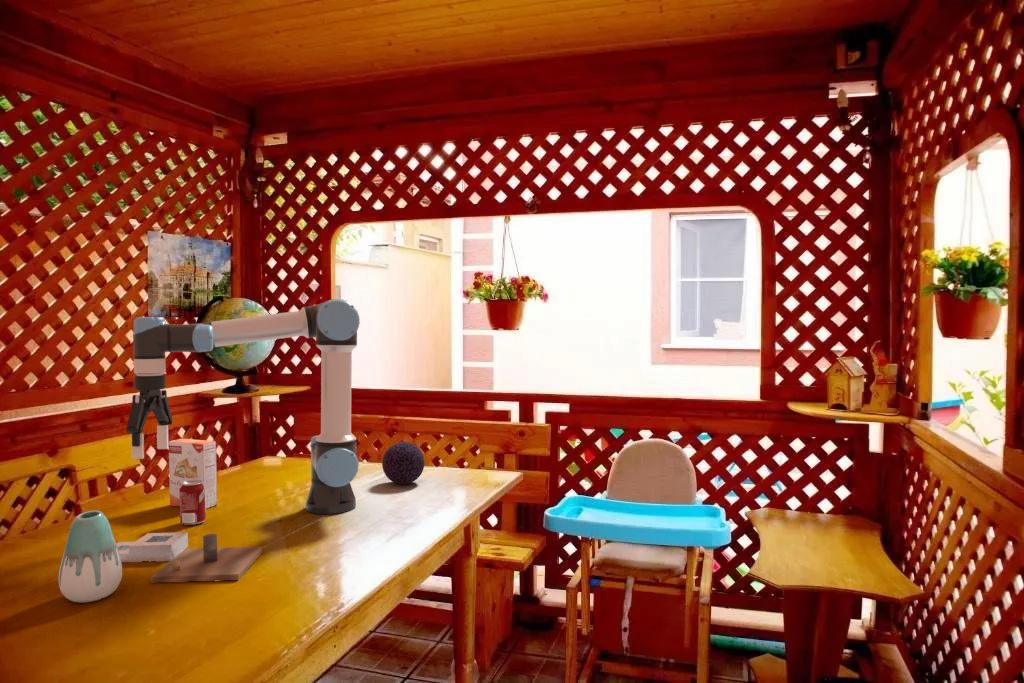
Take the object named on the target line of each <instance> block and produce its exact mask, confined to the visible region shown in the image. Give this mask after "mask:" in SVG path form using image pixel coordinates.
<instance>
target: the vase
mask: <svg viewBox="0 0 1024 683" xmlns="http://www.w3.org/2000/svg"><path fill="white" fill-rule="evenodd" d="M111 527H112V526H111V523H110V522H109V520H108V518H107V517H106V515H105V514H104V513H103V512H102V511H101V510H89V511H88V510H87V511H85V512H81V513H80V514H78V515H76V516H75V517H74V519H73V520H72V522H71V523H70V528H69V531H68V533H67V539H66V543H65V547H64V550H63V555H62V558H61V563H60V567H59V571H58V587H59V590H60V593H61V594H62V595H63V596H64V597H65V598H66V599H67V600H68V601H71V602H73V603H83V604H84V603H92V602H96V601H100V600H103V599H106V598H107V597H109V596H110V595H111V594H113V593H114V592H115V591H117V589H118V587H119V585H120V583H121V581H122V578H123V562H121V558H120V555H119V551H118V547H117V545H116V544H117V543H116V540H115V538H114V534H113V530H112V528H111ZM102 598H103V599H102Z"/></svg>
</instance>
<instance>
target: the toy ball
mask: <svg viewBox="0 0 1024 683" xmlns="http://www.w3.org/2000/svg"><path fill="white" fill-rule="evenodd" d="M381 462H382V463H381V466H382V470H383V473H384V475H385V476H386V478H388V480H389V481H390V482H392V483H395V484H397V485H408V484H411V483H413V482H416V480H418V478H420V477H421V475H422V474H423V471H424V469H425V463H426V462H425V456H424V453H423V452H422V450H421V448H420V447H418V446H417V445H415V444H414V443H411V442H410V441H409V442H408V441H400V442H395V443H393V444H392V445H391V446H389V447H388V449H386V451H385V452H384V455H383V457H382V460H381Z"/></svg>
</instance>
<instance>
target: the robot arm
mask: <svg viewBox="0 0 1024 683" xmlns="http://www.w3.org/2000/svg"><path fill="white" fill-rule="evenodd" d="M360 320H361V319H360V314H359V312H358V310H357V309H356V306H354V305H353V304H352V303H351V302H349V301H348V300H345V299H340V298H333V299H329V300H325V301H323V302H321V303H319V304H315V305H309V306H303V307H301V309H299V310H297V311H296V310H295V311H289V312H280V313H272V314H266V315H265V314H264V315H255V316H250V317H247V316H246V317H240V318H233V319H224V320H216V321H215V320H214V321H207V322H200V323H199V322H198V323H186V324H185V323H184V324H180V323H179V324H171V323H170V324H169V323H166V319H165V317H163V316H139V317H135V318H134V320H133V333H132V338H133V340H132V341H133V342H132V343H133V346H132V347H133V362H132V365H133V373H134V374H135V376H133V389H134V390H137V391H139V394H133V395H132V400H131V407H130V411H129V417H128V421H127V425H126V430H125V432H126V434H127V435H131V459H132V460H143V459H145V439H144V438H145V434H144V433H143V430H144V426H145V424H146V421H147V419H148V415H149V413H151V412H152V413H153V415H154V416H155V418H156V421H157V423H158V425H156V447H157V448H156V449H157V450H169V425H170V426H171V425H172V424H173V416H172V412H171V410H170V409H171V408H170V404H169V400H168V396H167V395H168V394H167V389H166V386H167V385H166V384H167V382H166V378H167V377H166V375H165V373H166V372H167V369H166V367H167V366H166V353H185V352H186V353H203V352H204V353H205V352H211V351H213V349H214V348H219V347H226V346H232V345H241V344H250V343H256V342H263V341H274V340H279V339H287V338H294V337H302V336H303V337H305V338H306V339H312V338H315V346H316V347H317V349H319V350H320V351H321V360H320V362H321V363H320V364H321V365H320V367H321V368H320V369H321V370H320V371H321V372H320V376H321V377H320V380H321V381H320V385H321V386H320V388H321V389H320V392H321V394H320V398H321V399H320V401H321V402H320V408H321V409H320V433H319V435H314V436H312V437H311V439H310V445H309V447H310V465H311V466H310V467H311V468H310V471H311V472H310V476H311V477H310V478H311V479H310V480H311V484H310V485H311V486H310V487H309V491H308V495H307V498H306V501H305V510H306V512H307V513H310V514H316V515H334V514H341V513H346V512H349V511H352V510H354V509H355V508H356V507H357V506H356V505H357V499H356V496H355V493H354V491H353V488H352V484H351V482H353V480H354V479H355V478H356V476H357V474H358V471H359V466H360V465H359V458H358V456H357V436H355V435H354V434H353V433H352V368H353V367H352V366H353V365H352V362H353V361H352V359H353V358H352V356H353V355H352V352H353V350H354V349H355V348H357V346H358V330H359V328H360V325H361V324H360V323H361V321H360Z"/></svg>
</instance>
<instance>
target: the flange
mask: <svg viewBox="0 0 1024 683" xmlns="http://www.w3.org/2000/svg"><path fill="white" fill-rule="evenodd" d="M188 535H189V534H188V532H187V531H186V532H185V531H183V532H182V531H181V532H148V533H146V534H145V535H143V536H141V537H140V538H139V539H137V540H135V541H118V542H117V543H116V545H117V547H118V551H119V555H120V558H121V563H143V562H142V561H149V562H151V561H156V562H170V561H171V560H172V559H173V558H175V557H176V556H177V555H178V554H179V553H181V552H182V551H183V550H184V549H186V548H187V547H188V548H189V539H188V538H189V536H188ZM188 548H187V549H188Z"/></svg>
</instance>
